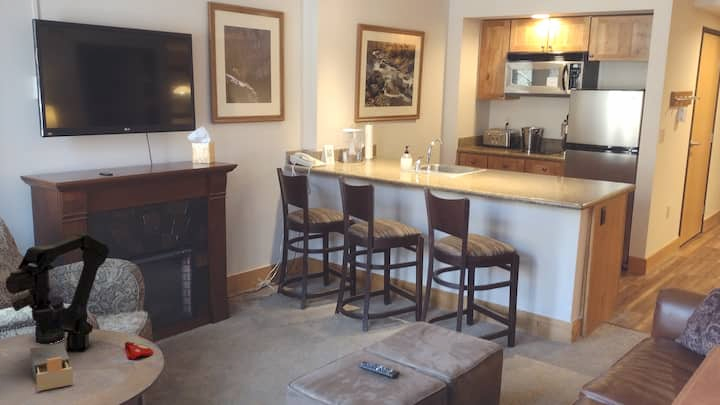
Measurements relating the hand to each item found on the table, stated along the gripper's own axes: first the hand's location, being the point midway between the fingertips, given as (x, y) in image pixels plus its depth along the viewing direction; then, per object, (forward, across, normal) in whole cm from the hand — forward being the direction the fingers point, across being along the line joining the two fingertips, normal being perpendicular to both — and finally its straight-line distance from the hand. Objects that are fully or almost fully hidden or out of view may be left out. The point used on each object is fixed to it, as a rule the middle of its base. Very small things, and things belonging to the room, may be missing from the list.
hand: (41, 329), depth 203 cm
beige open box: (+12, +13, +2) cm, 18 cm away
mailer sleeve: (+12, +5, +2) cm, 14 cm away
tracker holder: (+13, +4, +30) cm, 33 cm away
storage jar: (+13, -22, +4) cm, 26 cm away
